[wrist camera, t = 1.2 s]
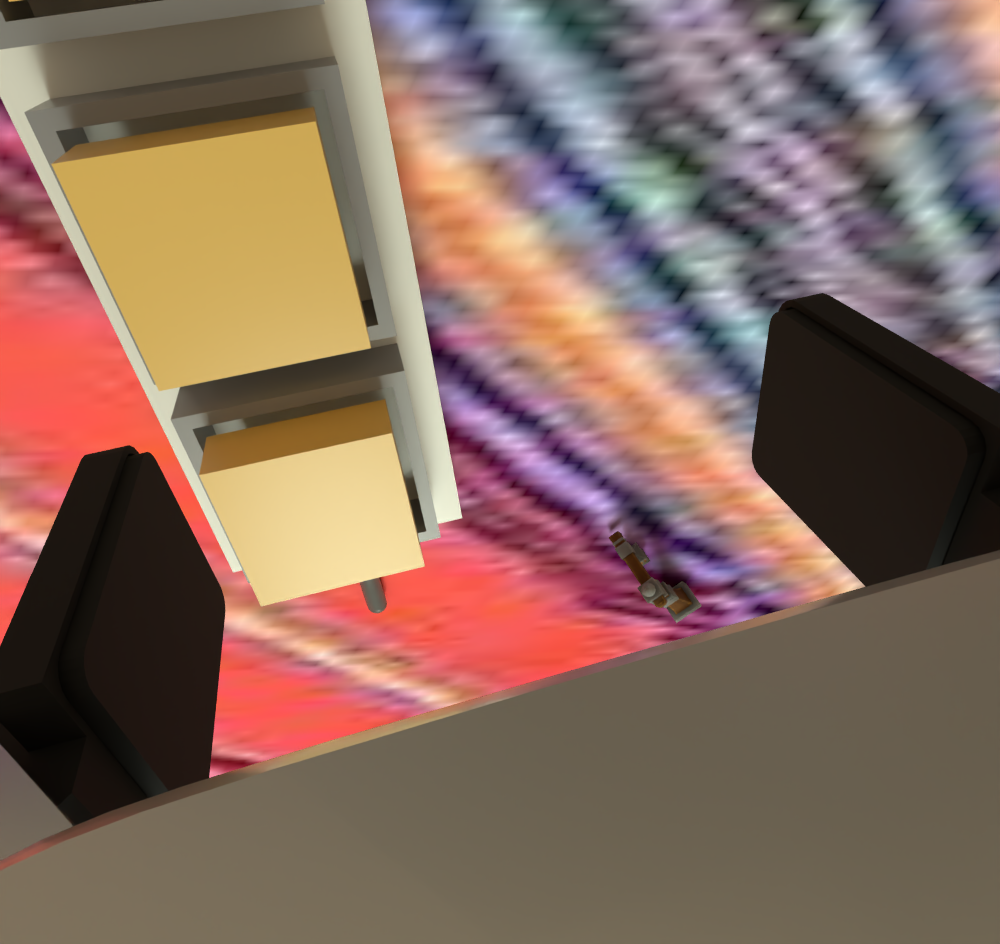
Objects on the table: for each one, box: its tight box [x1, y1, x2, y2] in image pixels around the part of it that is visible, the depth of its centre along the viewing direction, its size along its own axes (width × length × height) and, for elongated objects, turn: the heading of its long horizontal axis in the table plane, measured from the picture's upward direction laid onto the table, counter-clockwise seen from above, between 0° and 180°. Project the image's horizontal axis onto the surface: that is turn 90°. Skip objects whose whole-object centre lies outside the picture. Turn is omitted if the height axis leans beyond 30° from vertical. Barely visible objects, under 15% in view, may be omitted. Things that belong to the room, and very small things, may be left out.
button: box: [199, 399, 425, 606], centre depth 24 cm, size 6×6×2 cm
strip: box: [0, 0, 462, 613], centre depth 24 cm, size 10×35×5 cm, turn 6°
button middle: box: [51, 107, 371, 391], centre depth 19 cm, size 6×6×2 cm
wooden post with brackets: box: [609, 531, 701, 623], centre depth 38 cm, size 2×8×4 cm, turn 38°
